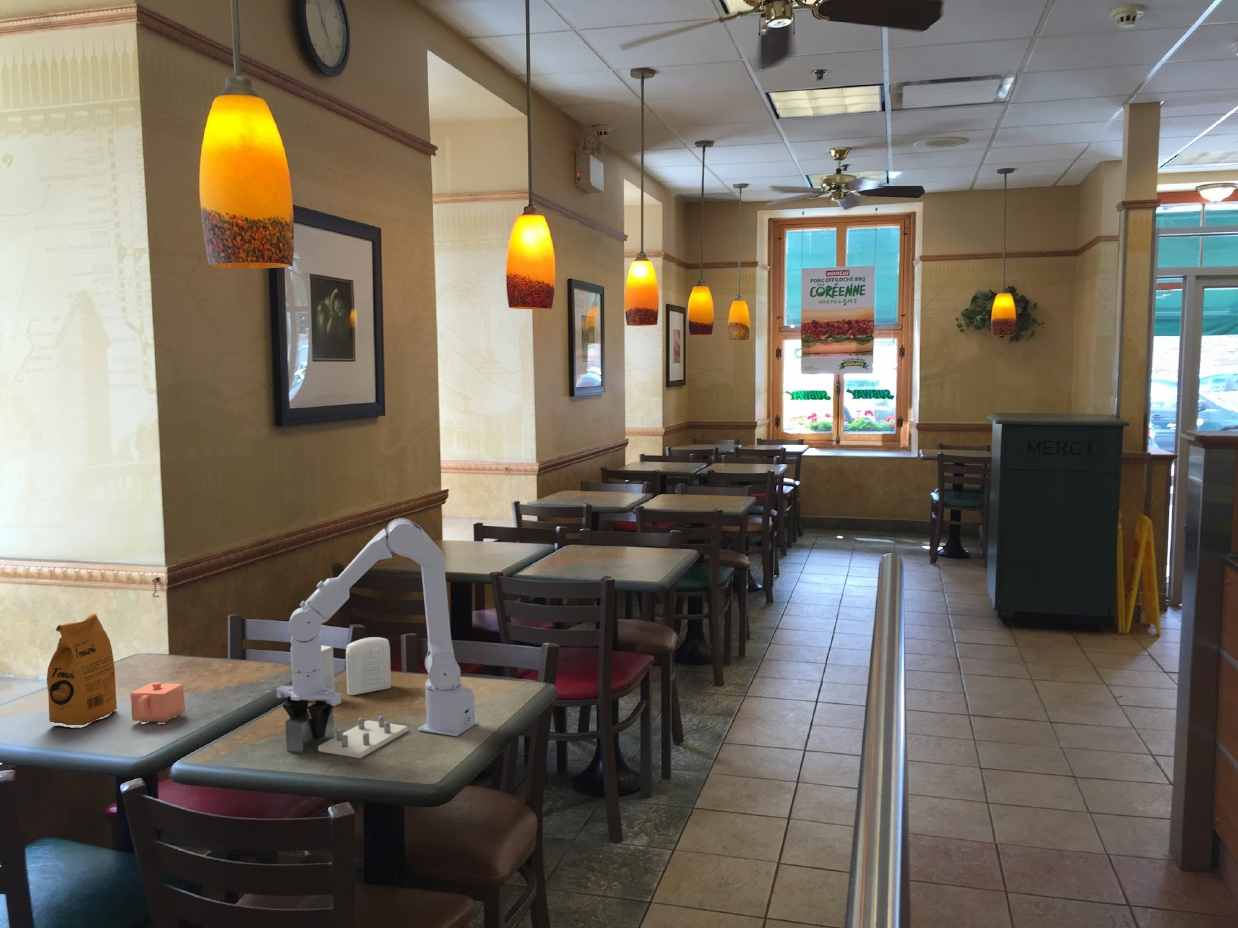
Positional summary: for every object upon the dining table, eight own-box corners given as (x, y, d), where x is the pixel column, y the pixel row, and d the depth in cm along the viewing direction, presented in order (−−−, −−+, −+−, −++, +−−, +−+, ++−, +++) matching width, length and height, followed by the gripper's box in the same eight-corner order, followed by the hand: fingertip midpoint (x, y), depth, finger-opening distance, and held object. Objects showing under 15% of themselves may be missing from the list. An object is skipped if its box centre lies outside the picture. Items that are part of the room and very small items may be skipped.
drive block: (334, 737, 193) (332, 708, 192) (303, 753, 185) (301, 723, 184) (318, 734, 194) (317, 705, 194) (287, 750, 186) (285, 720, 186)
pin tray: (407, 730, 195) (406, 716, 195) (360, 758, 182) (359, 742, 181) (367, 724, 199) (367, 710, 199) (318, 751, 186) (317, 735, 185)
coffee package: (41, 728, 202) (33, 626, 200) (86, 708, 214) (79, 611, 212) (81, 731, 200) (73, 627, 198) (124, 710, 212) (117, 613, 210)
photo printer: (387, 683, 226) (385, 632, 225) (394, 688, 223) (391, 636, 222) (344, 692, 221) (342, 640, 220) (350, 697, 217) (348, 644, 216)
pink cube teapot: (194, 710, 211) (191, 673, 210) (159, 730, 199) (156, 691, 199) (162, 709, 212) (159, 672, 212) (125, 728, 201) (123, 690, 200)
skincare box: (302, 700, 215) (299, 648, 214) (314, 694, 219) (312, 643, 218) (323, 703, 213) (321, 651, 212) (336, 697, 217) (333, 646, 216)
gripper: (263, 670, 187) (267, 738, 189) (322, 678, 182) (326, 747, 183) (289, 660, 194) (293, 725, 195) (346, 668, 188) (350, 735, 189)
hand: (310, 735), depth 189 cm, fingers closed on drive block, 4 cm apart
